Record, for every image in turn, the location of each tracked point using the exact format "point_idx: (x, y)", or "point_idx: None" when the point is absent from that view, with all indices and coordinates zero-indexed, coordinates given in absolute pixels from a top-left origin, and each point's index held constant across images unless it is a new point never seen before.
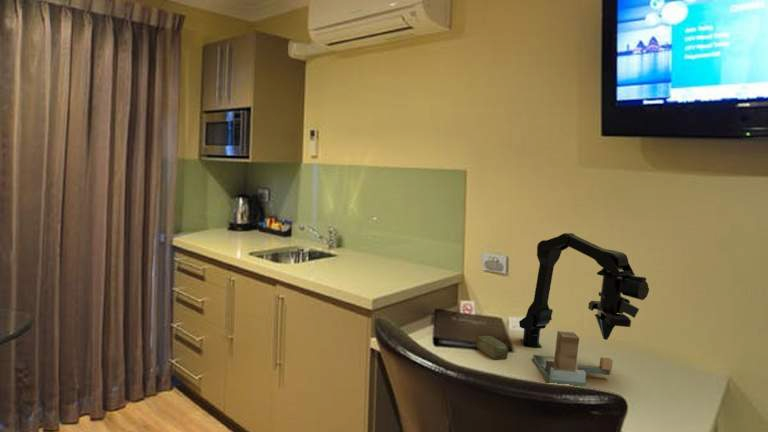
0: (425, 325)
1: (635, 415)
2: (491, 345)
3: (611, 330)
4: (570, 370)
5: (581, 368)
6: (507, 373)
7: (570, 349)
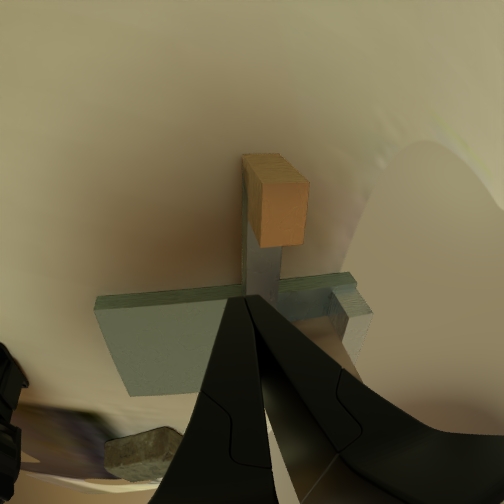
0: (59, 480)
1: (491, 185)
2: None
3: (347, 378)
4: (349, 355)
5: (275, 301)
6: (269, 421)
7: None
